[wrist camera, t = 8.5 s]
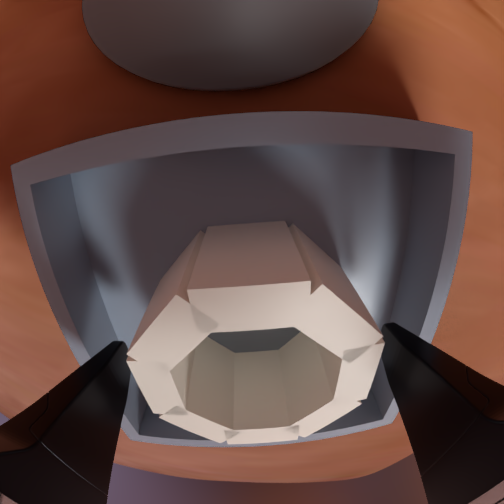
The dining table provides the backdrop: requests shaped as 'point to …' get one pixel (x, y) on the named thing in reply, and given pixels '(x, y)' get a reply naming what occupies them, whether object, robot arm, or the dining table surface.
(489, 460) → the robot arm
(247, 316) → the ring
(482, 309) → the dining table surface
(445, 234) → the tray
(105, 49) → the stake
